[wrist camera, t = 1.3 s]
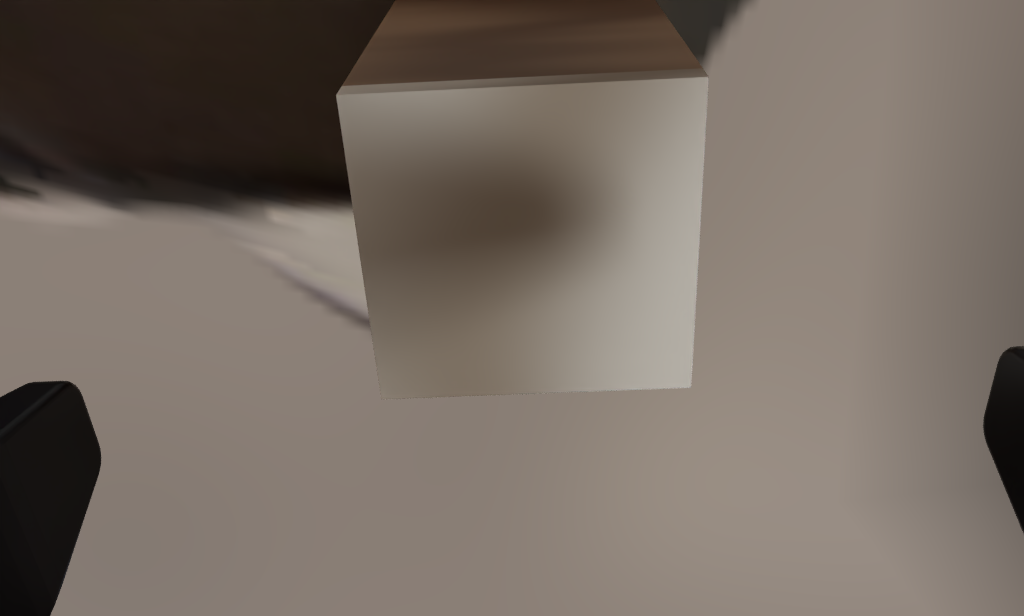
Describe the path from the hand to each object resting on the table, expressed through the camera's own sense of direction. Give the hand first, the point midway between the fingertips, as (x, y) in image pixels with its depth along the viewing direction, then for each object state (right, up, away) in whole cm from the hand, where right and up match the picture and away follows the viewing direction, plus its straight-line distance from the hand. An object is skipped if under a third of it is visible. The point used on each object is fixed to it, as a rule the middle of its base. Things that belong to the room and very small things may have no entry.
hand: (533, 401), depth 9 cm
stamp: (0, +5, +10) cm, 11 cm away
